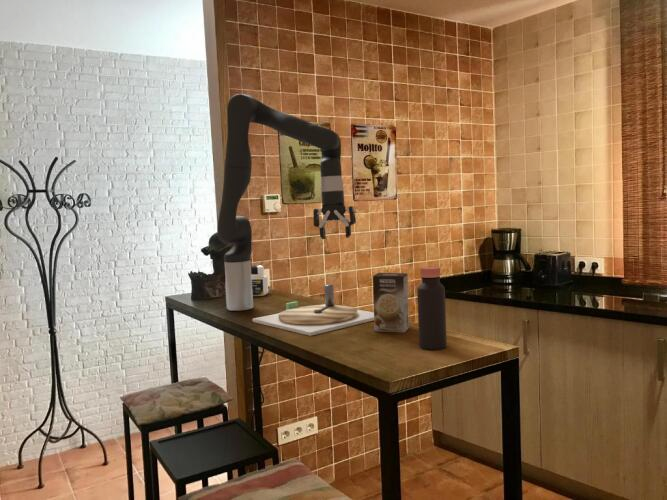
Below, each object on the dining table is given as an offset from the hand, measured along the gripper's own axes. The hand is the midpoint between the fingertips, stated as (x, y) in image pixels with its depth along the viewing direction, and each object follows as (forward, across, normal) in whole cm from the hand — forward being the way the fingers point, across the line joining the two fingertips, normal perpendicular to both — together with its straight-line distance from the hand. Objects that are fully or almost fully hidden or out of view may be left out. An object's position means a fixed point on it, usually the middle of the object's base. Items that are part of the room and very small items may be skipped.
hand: (335, 238), depth 198 cm
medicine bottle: (+23, +44, -29) cm, 58 cm away
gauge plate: (+25, +3, +16) cm, 29 cm away
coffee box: (+26, -23, +27) cm, 44 cm away
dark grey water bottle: (+26, -37, +44) cm, 63 cm away
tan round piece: (+23, +3, +16) cm, 28 cm away
